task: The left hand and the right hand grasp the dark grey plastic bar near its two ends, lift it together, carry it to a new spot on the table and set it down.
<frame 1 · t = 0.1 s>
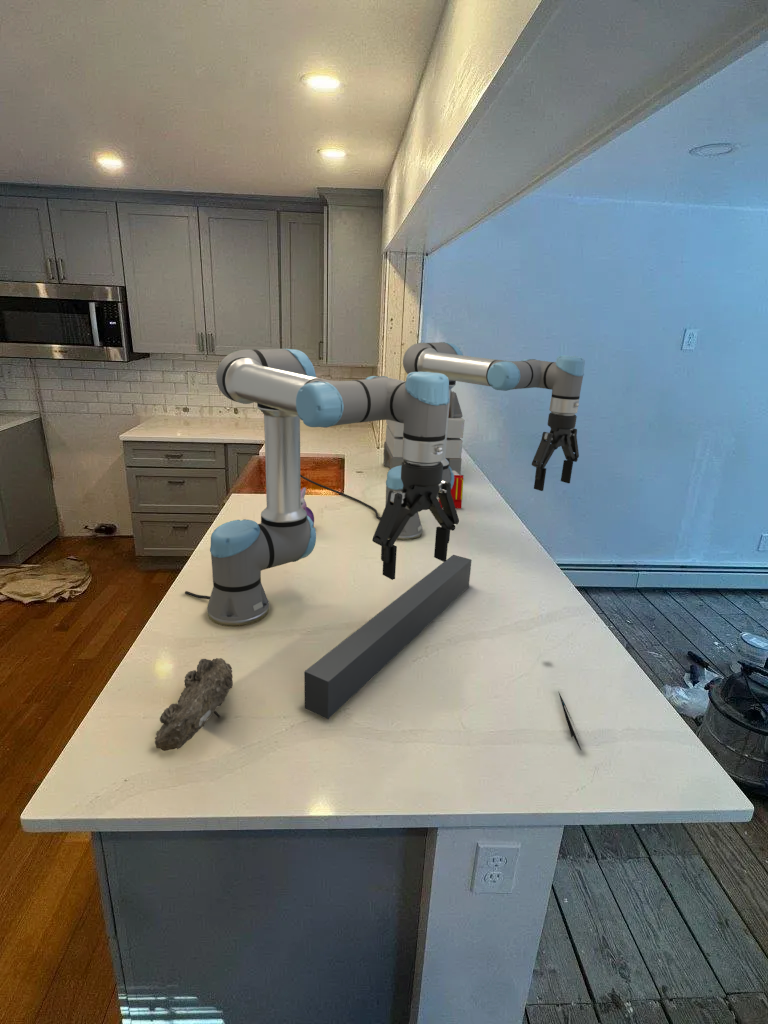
left hand: (415, 567, 109), 28 cm above the counter, tool pointing down, fingers open, 13 cm apart
right hand: (552, 486, 166), 28 cm above the counter, tool pointing down, fingers open, 13 cm apart
fossil: (201, 715, 108), on the counter
feather: (561, 703, 116), on the counter
toy: (445, 498, 240), on the counter
bar: (402, 636, 138), on the counter
figurine: (302, 529, 200), on the counter
grey storage crate: (419, 473, 275), on the counter
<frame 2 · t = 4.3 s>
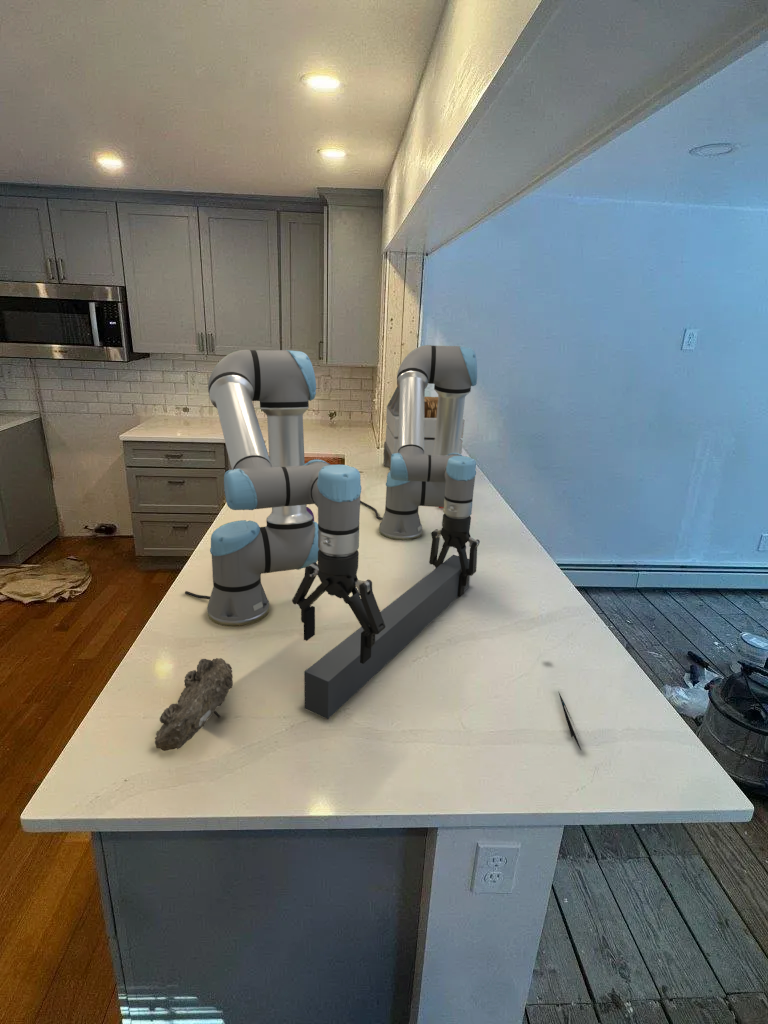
left hand: (336, 648, 112), 11 cm above the counter, tool pointing down, fingers open, 13 cm apart
right hand: (450, 591, 160), 0 cm above the counter, tool pointing down, fingers closed on bar, 6 cm apart
bar: (402, 636, 138), on the counter, touching right hand
everything else where it was.
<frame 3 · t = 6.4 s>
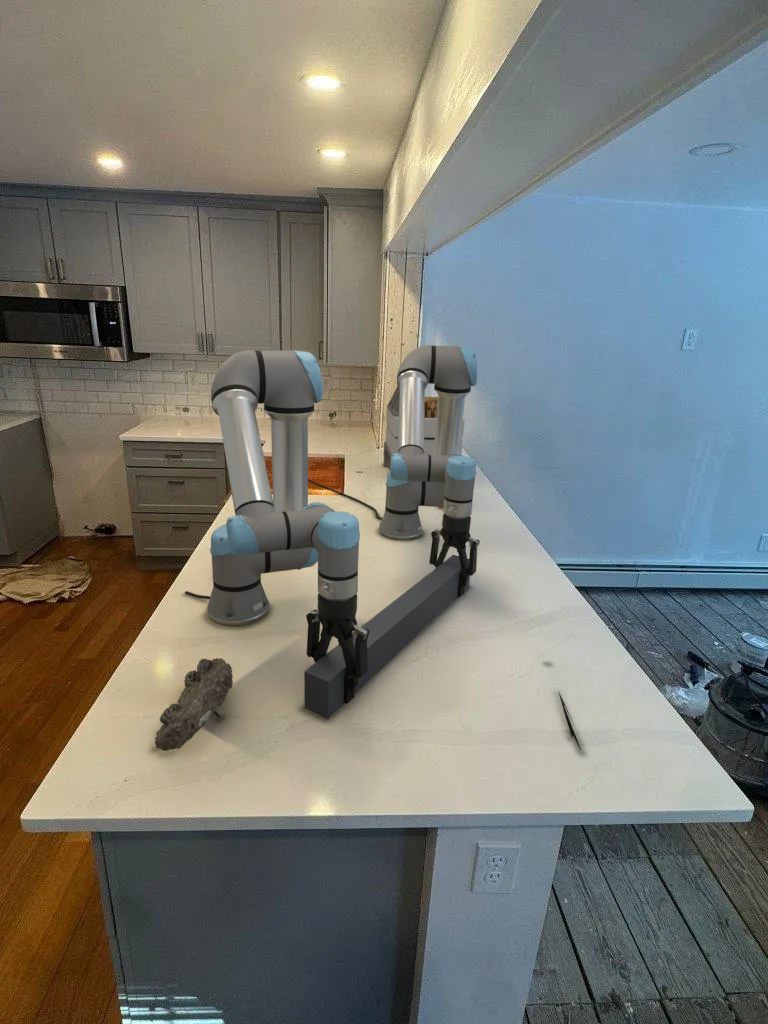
left hand: (335, 694, 115), 0 cm above the counter, tool pointing down, fingers closed on bar, 6 cm apart
right hand: (450, 591, 160), 0 cm above the counter, tool pointing down, fingers closed on bar, 6 cm apart
bar: (402, 636, 138), on the counter, touching right hand, left hand
everything else where it was.
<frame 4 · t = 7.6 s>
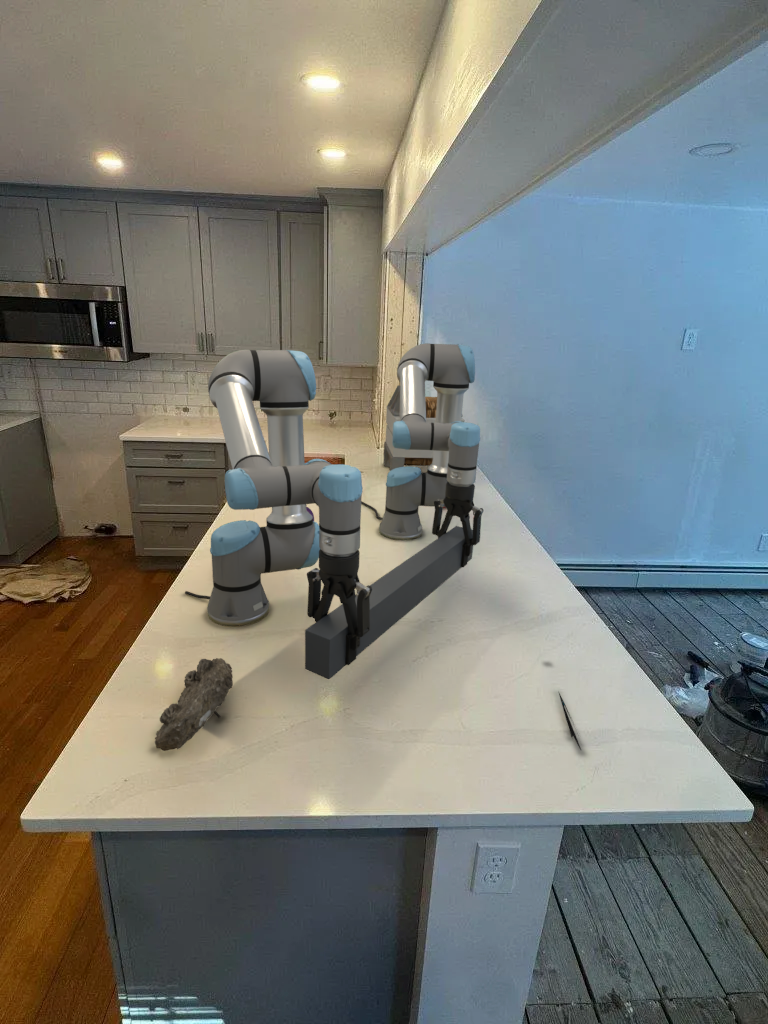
left hand: (337, 655, 112), 10 cm above the counter, tool pointing down, fingers closed on bar, 6 cm apart
right hand: (453, 562, 157), 9 cm above the counter, tool pointing down, fingers closed on bar, 6 cm apart
bar: (404, 603, 135), point 9 cm above the counter, touching right hand, left hand
everything else where it was.
when the left hand's fingers open (2 cm above the counter, at t = 11.3 s): bar drops 1 cm, on the counter.
when the right hand's fingers open (2 cm above the counter, at t = 11.3 s): bar drops 1 cm, on the counter.
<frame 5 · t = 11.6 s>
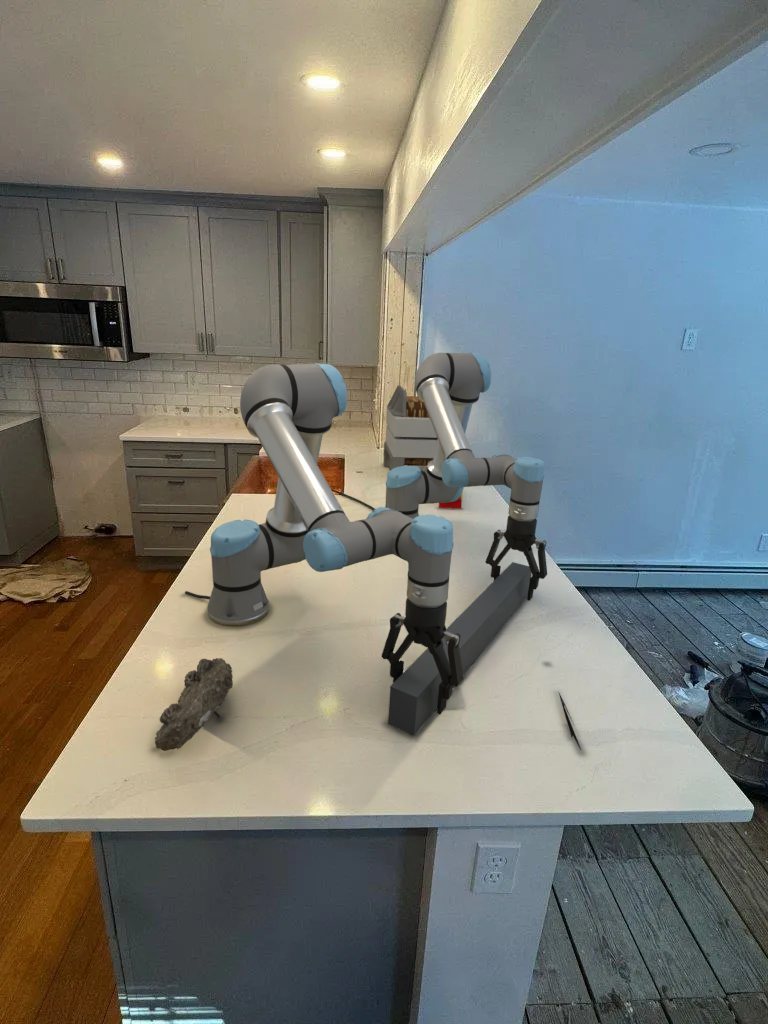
left hand: (418, 700, 111), 3 cm above the counter, tool pointing down, fingers open, 9 cm apart
right hand: (512, 593, 156), 3 cm above the counter, tool pointing down, fingers open, 9 cm apart
bar: (471, 647, 134), on the counter
everything else where it was.
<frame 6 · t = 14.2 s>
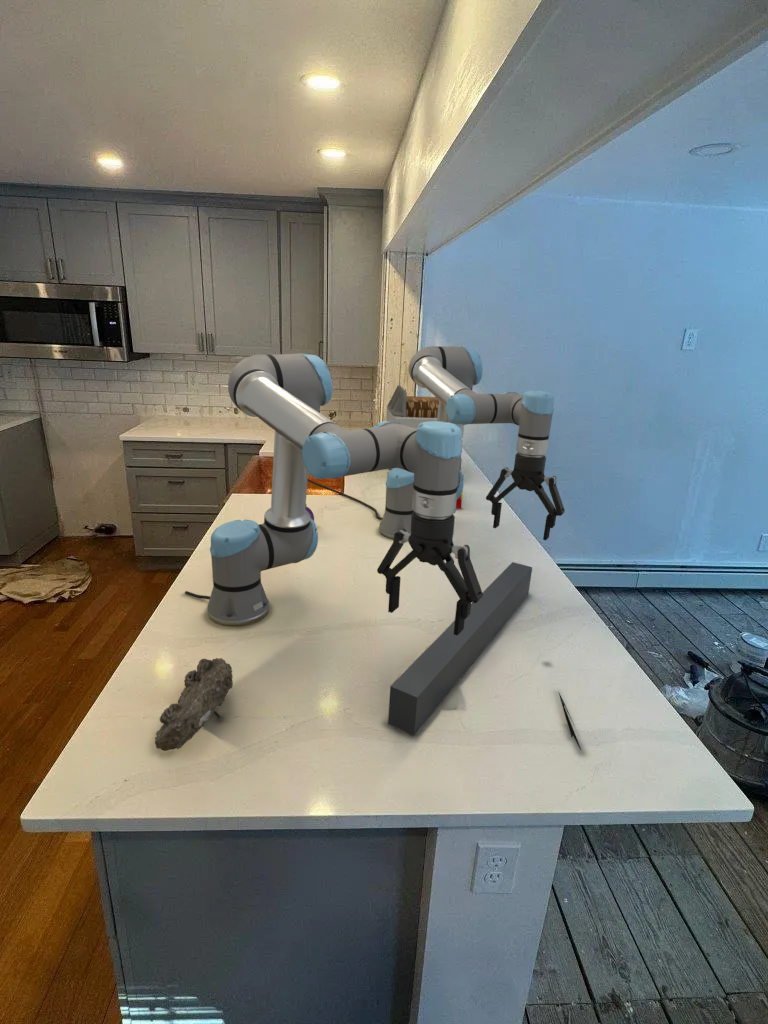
left hand: (425, 620, 105), 21 cm above the counter, tool pointing down, fingers open, 13 cm apart
right hand: (520, 532, 149), 21 cm above the counter, tool pointing down, fingers open, 13 cm apart
nothing on the counter moved.
at the end: bar inside the target area (0.3 cm from its centre), on the counter; bar tilted 0°; bar never tilted more than 1° during the clip; both hands held the bar at the same time; the left hand is holding nothing; the right hand is holding nothing; bar at rest at the end (0.0 cm/s) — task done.
